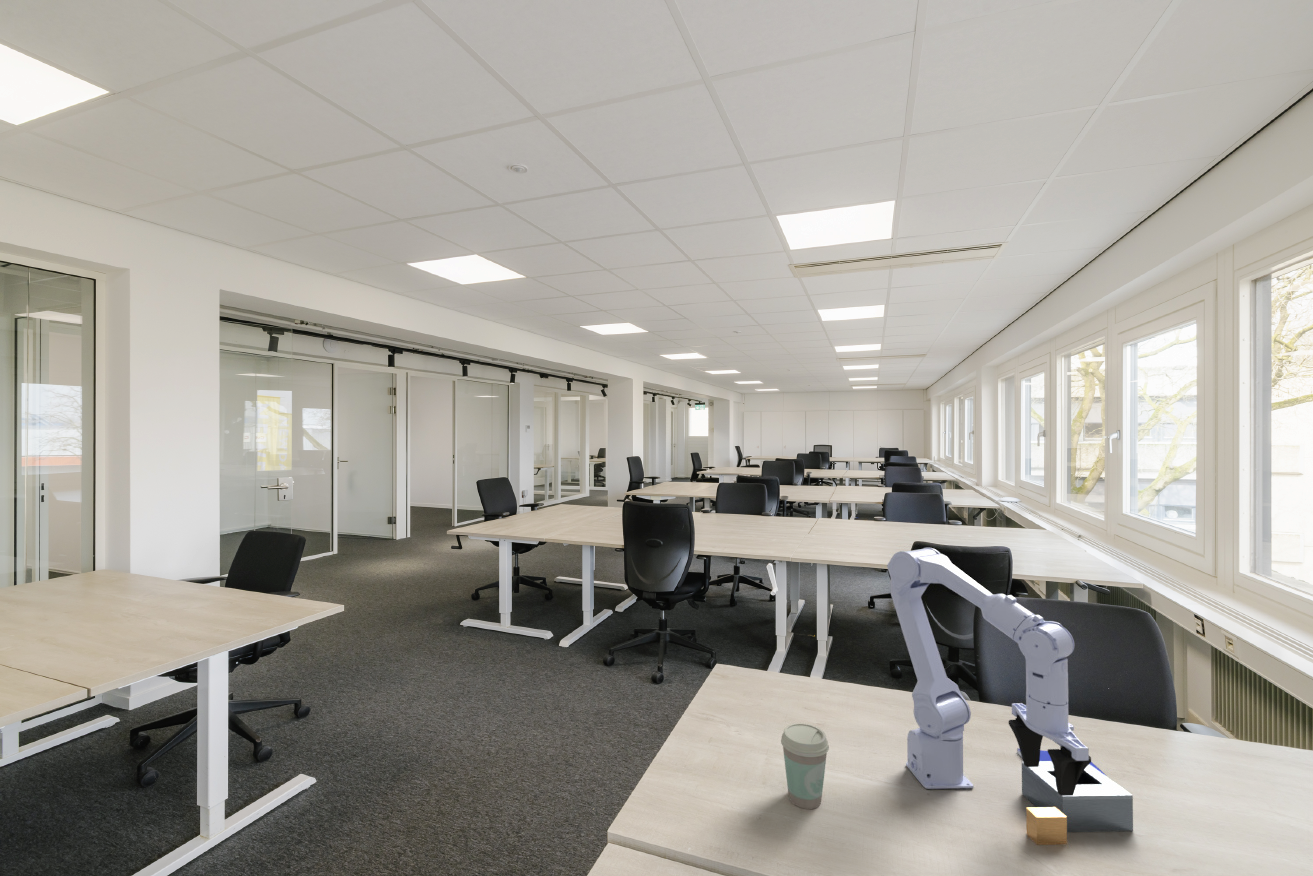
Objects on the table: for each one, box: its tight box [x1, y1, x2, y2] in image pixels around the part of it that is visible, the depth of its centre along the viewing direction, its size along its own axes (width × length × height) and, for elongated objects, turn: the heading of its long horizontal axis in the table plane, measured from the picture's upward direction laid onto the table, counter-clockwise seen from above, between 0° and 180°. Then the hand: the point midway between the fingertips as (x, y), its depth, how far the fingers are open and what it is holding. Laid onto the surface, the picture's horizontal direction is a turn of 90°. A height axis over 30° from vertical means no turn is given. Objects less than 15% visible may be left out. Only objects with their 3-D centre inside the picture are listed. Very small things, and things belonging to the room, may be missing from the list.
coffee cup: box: [780, 722, 830, 810], centre depth 100 cm, size 8×8×12 cm
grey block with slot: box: [1021, 760, 1134, 833], centre depth 96 cm, size 12×10×6 cm
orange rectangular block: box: [1025, 806, 1068, 846], centre depth 90 cm, size 5×2×4 cm, turn 91°
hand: (1047, 779), depth 90 cm, fingers open, 7 cm apart
